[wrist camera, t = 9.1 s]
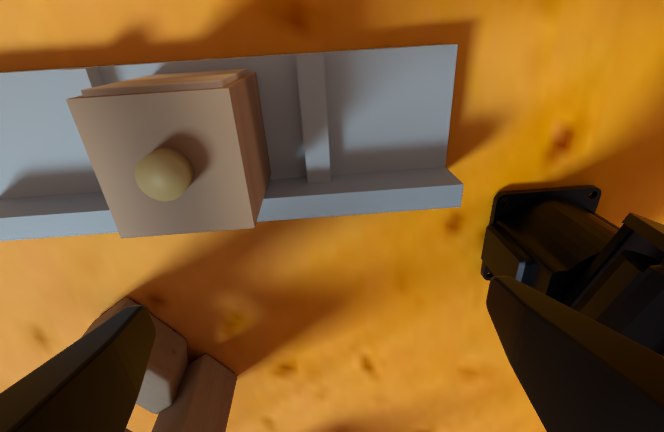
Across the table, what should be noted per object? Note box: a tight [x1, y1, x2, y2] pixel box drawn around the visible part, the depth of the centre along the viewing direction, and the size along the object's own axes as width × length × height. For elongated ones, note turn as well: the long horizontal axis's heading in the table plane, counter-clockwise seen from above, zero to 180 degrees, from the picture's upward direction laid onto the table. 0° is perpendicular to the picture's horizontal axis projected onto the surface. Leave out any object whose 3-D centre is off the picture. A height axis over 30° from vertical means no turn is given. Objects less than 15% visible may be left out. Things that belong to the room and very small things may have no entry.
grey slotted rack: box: [0, 44, 464, 241], centre depth 17 cm, size 24×7×4 cm, turn 93°
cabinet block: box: [66, 69, 271, 238], centre depth 14 cm, size 5×5×7 cm
